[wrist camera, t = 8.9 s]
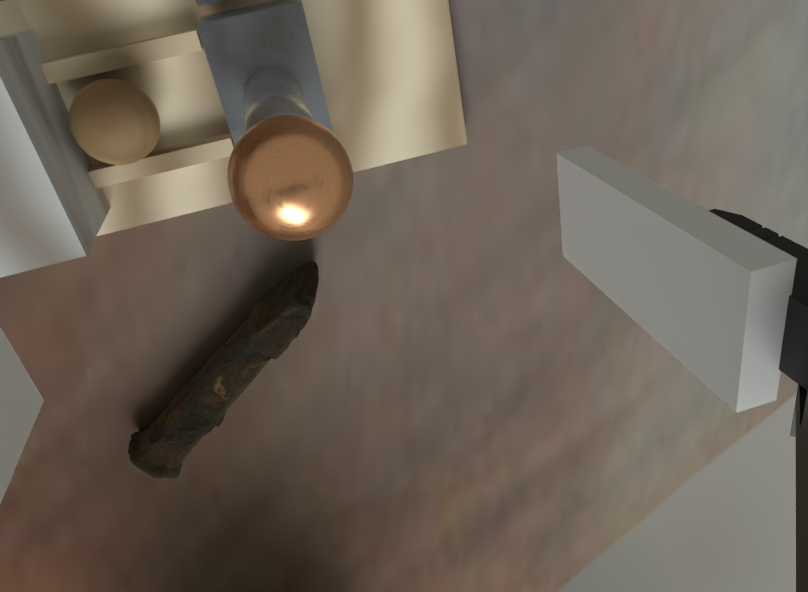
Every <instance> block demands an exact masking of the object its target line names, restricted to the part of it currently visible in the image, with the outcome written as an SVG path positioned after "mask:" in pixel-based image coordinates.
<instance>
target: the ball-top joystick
mask: <svg viewBox="0 0 808 592" xmlns="http://www.w3.org/2000/svg"><path fill="white" fill-rule="evenodd" d="M220 1H225V0H196V4H197V6H201V5H206V4H211V3H215V2H220ZM196 26H197V29H198V32H199V35H200V38H201V41H202V45H203V48H204V51H205V54H206V57H207V60H208V63H209V66H210V70H211V73H212V76H213V79H214V82H215V85H216V88H217V92H218V95H219V98H220V101H221V104H222V107H223V110H224V113H225V117H226V120H227V123H228V126H229V129H230V132H231V135H232V139H233V142H234V145H235V147H234V149H233V151H232V153H231V156H230V159H229V163H228V169H227V181H228V189H229V192H230V196H231V199H232V201H233V204H234V205H235V207H236V209H237V211H238V212H239V214H240V215H241V216H242V217H243V219H244V220H245V221H246V222H247V223H248V224H249V225H250V226H252V227H253V228H254V229H256V230H257V231H259V232H261V233H262V234H264V235H267V236H269V237H272V238H275V239H279V240H285V241H300V240H305V239H309V238H313V237H315V236H318V235H320V234H322V233H323V232H325V231H327V230H328V229H329V228H331V227H332V226H333V225H334V224H335V223H336V222H337V221H338V220H339V219H340V217H341V216H342V215H343V213H344V212H345V210H346V208H347V206H348V204H349V201H350V199H351V195H352V190H353V170H352V165H351V161H350V158H349V155H348V153H347V151H346V149H345V147H344V146H343V144H342V142H341V141H340V140H339V139H338V138H337V136H336V135H335V134H334V133H333V130H332V126H331V122H330V118H329V114H328V109H327V105H326V101H325V97H324V93H323V88H322V84H321V80H320V76H319V71H318V67H317V63H316V59H315V55H314V50H313V46H312V42H311V38H310V34H309V29H308V25H307V21H306V17H305V12H304V8H303V4H302V1H301V0H276V1H271V2H266V3H262V4H257V5H252V6H248V7H243V8H239V9H234V10H229V11H225V12H220V13H216V14H211V15H206V16H202V17H200V19H199V20H198V22H197V24H196Z"/></svg>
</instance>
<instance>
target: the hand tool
mask: <svg viewBox="0 0 808 592" xmlns="http://www.w3.org/2000/svg"><path fill="white" fill-rule="evenodd" d="M318 280H319V277H318V266H317V264H316V262H312V263H309V264H307V265H304V266H303V267H301V268H299V269H298V270H296V271H295V272H294V273H292V274H291V275H289V276H288V277H287V278H285V279H284V280H282V281H281V282H279V283H278V284H277V285H276V286H275V287H274V288H273V289H272V290H271V291H270V292H269V293H267V294H266V295H265V296H263V297H262V298H261V299H260V300H258V301H257V302H256V303H255V305H254V306H253V308H252V310H251V313H250V314H249V316H248V317H247V319H246V320H245V321H244V322H243V323H242V324H241V326H240V327H239V328H238V329H237V330H236V331H235V332H234V333H233V334H232V335H231V336H230V337H229V338H228V339H227V340H226V341H225V343H224V344H223V345H222V346H221V347H220V348H219V349H218V350H217V351H216V352H215V353H214V354H213V355H212V356H211V357H210V358H209V359H208V360H207V362H206V363H205V364H204V366H203V367H202V368H201V369H200V371H199V372H198V373H197V374H196V375H195V376H194V377H193V378H192V379H191V380H190V381H189V382H188V383H187V384H186V385H185V386H184V387H183V388H182V389H181V390H180V391H179V392H178V393H177V394H176V395H175V396H174V397H173V399H172V401H171V402H170V403H169V404H168V406H167V407H166V408H165V409H164V411H163V412H162V413H161V414H160V415H159V416H158V418H157V419H156V420H155V421H154V422H153V423H152V424H151V425H150V426H149V427H148V428H147V430H140V431H138V432H135V433H134V434H132V435H131V438H132V439H131V441H130V443H129V449H128V453H129V458H130V459H131V462H132V463H133V464H134V465H135V466H136V467H138V468H139V469H141V470H142V471H144V472H146V473H148V474H150V475H151V476H152V477H153V478H176V477H177V476H178V475H179V473H180V469H181V466H182V461H183V460H184V458H185V456H186V455H187V454H188V453H189V452H190V451H191V450H192V448H193V447H194V446H195V445H196V444H197V443H198V441H199V440H200V439H201V438H202V437H203V436H204V435H206V434H207V433H208V432H210V431H212V429H213V428H214V427H215V426H220V424H221V423H222V421H223V419H224V415H225V411H226V410H227V409H228V408H229V406H230V405H231V404H232V403H233V402H234V401H235V400H236V398H237V397H238V396H239V395H240V394H241V393H242V392H243V391H244V389H245V388H246V387H247V386H248V385H249V384H250V383H251V381H252V380H253V379H254V378H255V377H256V375H257V374H258V373H259V372H260V371H261V369H262V368H263V367H264V366H265V365H266V363H267V362H268V361H269V360H270V359H271V358H273V359H277V358H278V357H279V356H280V355H281V354H282V353H283V352H284V351H285V350H286V349H287V348H288V346H289V344H290V342H291V341H292V340H293V339H294V338H296V337H297V336H298V334H299V333H300V330H302V329H303V327H304V326H305V325H306V323H307V321H308V320H309V318H310V315H311V312H312V307H313V305H314V303H315V297H316V291H317V286H318Z"/></svg>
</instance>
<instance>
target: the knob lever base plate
mask: <svg viewBox="0 0 808 592" xmlns="http://www.w3.org/2000/svg"><path fill="white" fill-rule="evenodd" d="M271 1H276V0H225V1H220V2H215V3H211V4H206V5H201V6H197V4H196V0H3V1H0V277H4V276H8V275H12V274H16V273H20V272H24V271H28V270H32V269H36V268H40V267H44V266H48V265H52V264H56V263H60V262H64V261H68V260H72V259H76V258H80V257H84V256H87V254H88V252H89V250H90V248H91V246H92V244H93V242H94V240H95V238H96V236H100V235H104V234H108V233H112V232H116V231H120V230H124V229H128V228H132V227H136V226H140V225H144V224H148V223H152V222H156V221H160V220H164V219H168V218H172V217H176V216H180V215H184V214H188V213H192V212H196V211H200V210H204V209H208V208H212V207H216V206H220V205H224V204H228V203H232V202H233V201H232V199H231V196H230V192H229V189H228V181H227V169H228V163H229V159H230V156H231V153H232V151H233V149H234V147H235V145H234V142H233V139H232V135H231V132H230V129H229V126H228V123H227V120H226V117H225V113H224V110H223V107H222V104H221V101H220V98H219V95H218V92H217V88H216V85H215V82H214V79H213V76H212V73H211V70H210V66H209V63H208V60H207V57H206V54H205V51H204V48H203V45H202V41H201V38H200V35H199V32H198V29H197V26H196V24H197V22H198V20H199V19H200V17H202V16H206V15H211V14H216V13H220V12H225V11H229V10H234V9H239V8H243V7H248V6H252V5H257V4H262V3H266V2H271ZM301 1H302V4H303V8H304V12H305V17H306V21H307V25H308V29H309V34H310V38H311V42H312V46H313V50H314V55H315V59H316V63H317V67H318V71H319V76H320V80H321V84H322V88H323V93H324V97H325V101H326V105H327V109H328V114H329V118H330V122H331V126H332V130H333V133H334V134H335V135H336V136H337V138H338V139H339V140H340V141H341V142H342V144H343V146H344V147H345V149H346V151H347V153H348V155H349V158H350V161H351V165H352V170H353V172H357V171H361V170H365V169H369V168H373V167H377V166H381V165H385V164H389V163H393V162H397V161H401V160H405V159H409V158H413V157H417V156H421V155H425V154H429V153H433V152H437V151H441V150H445V149H449V148H453V147H457V146H461V145H465V144H467V139H466V132H465V124H464V116H463V109H462V101H461V94H460V86H459V78H458V71H457V63H456V55H455V48H454V40H453V33H452V25H451V17H450V10H449V2H448V0H301ZM100 79H119V80H123V81H127V82H129V83H131V84H133V85H135V86H137V87H138V88H140V89H141V90H142V91H144V92H145V93H146V94H147V95H148V96H149V97H150V99H151V100H152V101H153V103H154V105H155V107H156V109H157V111H158V114H159V118H160V135H159V138H158V141H157V143H156V145H155V147H154V148H153V150H152V151H151V152H150V153H149V154H148V155H147V156H146V157H144V158H143V159H141V160H139V161H137V162H135V163H131V164H126V165H113V164H108V163H104V162H101V161H99V160H97V159H95V158H93V157H91V156H90V155H89V154H87V153H86V152H85V151H84V150H83V149H82V148H81V147H80V146H79V144H78V143H77V142H76V140H75V138H74V136H73V134H72V132H71V129H70V124H69V110H70V106H71V103H72V101H73V99H74V97H75V96H76V94H77V93H78V92H79V91H80V90H81V89H82V88H83V87H84V86H86V85H87V84H89V83H91V82H94V81H97V80H100Z"/></svg>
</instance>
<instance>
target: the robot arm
mask: <svg viewBox="0 0 808 592" xmlns="http://www.w3.org/2000/svg"><path fill="white" fill-rule="evenodd" d="M557 168H558V184H559V201H560V217H561V234H562V250H563V256H564V257H565V258H566V259H567V260H568V261H569V262H571V263H572V264H573V265H574V266H575V267H576V268H577V269H578V270H579V271H580V272H582V273H583V274H584V275H585V276H586V277H587V278H588V279H589V280H590V281H591V282H593V283H594V284H595V285H596V286H597V287H598V288H599V289H600V290H601V291H602V292H604V293H605V294H606V295H607V296H608V297H609V298H610V299H611V300H612V301H613V302H615V303H616V304H617V305H618V306H619V307H620V308H621V309H622V310H623V311H624V312H626V313H627V314H628V315H629V316H630V317H631V318H632V319H633V320H634V321H635V322H637V323H638V324H639V325H640V326H641V327H642V328H643V329H644V330H645V331H646V332H648V333H649V334H650V335H651V336H652V337H653V338H654V339H655V340H656V341H657V342H659V343H660V344H661V345H662V346H663V347H664V348H665V349H666V350H667V351H669V352H670V353H671V354H672V355H673V356H674V357H675V358H676V359H677V360H678V361H680V362H681V363H682V364H683V365H684V366H685V367H686V368H687V369H688V370H689V371H691V372H692V373H693V374H694V375H695V376H696V377H697V378H698V379H699V380H700V381H702V382H703V383H704V384H705V385H706V386H707V387H708V388H709V389H710V390H711V391H713V392H714V393H715V394H716V395H717V396H718V397H719V398H720V399H721V400H722V401H724V402H725V403H726V404H727V405H728V406H729V407H730V408H731V409H732V410H733V411H735V412H736V413H737V412H741V411H744V410H747V409H750V408H753V407H756V406H759V405H762V404H766V403H769V402H772V401H775V400H776V399H777V392H778V385H779V378H780V371H782V372H783V373H784V374H786V375H787V376H788V377H790V378H791V379H792V380H794V381H795V382H796V383H798V390H797V396H796V403H795V408H794V414H793V421H792V427H791V433H790V435H791V436H795V437H796V592H808V249H807V248H805V247H803V246H801V245H799V244H797V243H795V242H793V241H791V240H789V239H787V238H785V237H783V236H781V237H779V236H778V234H777V233H776V232H774V231H772V230H770V229H768V228H762V225H760V224H758V223H756V222H754V221H752V220H750V219H748V218H746V217H744V216H742V215H739V214H734V213H730V212H726V211H722V210H718V209H713V210H709V211H708V210H706V209H704V208H702V207H700V206H698V205H697V204H695V203H693V202H691V201H689V200H687V199H685V198H684V197H682V196H680V195H678V194H676V193H674V192H672V191H670V190H669V189H667V188H665V187H663V186H661V185H659V184H657V183H656V182H654V181H652V180H650V179H648V178H646V177H644V176H643V175H641V174H639V173H637V172H635V171H633V170H631V169H630V168H628V167H626V166H624V165H622V164H620V163H618V162H617V161H615V160H613V159H611V158H609V157H607V156H605V155H603V154H602V153H600V152H598V151H596V150H594V149H592V148H590V147H589V146H587V145H586V146H582V147H578V148H574V149H570V150H567V151H563V152H559V153H557ZM43 402H44V400H43V398H42V396H41V395H40V393H39V391H38V390H37V388H36V386H35V384H34V383H33V381H32V379H31V378H30V376H29V374H28V373H27V371H26V369H25V368H24V366H23V364H22V363H21V361H20V359H19V358H18V356H17V354H16V352H15V351H14V349H13V347H12V346H11V344H10V342H9V341H8V339H7V337H6V336H5V334H4V332H3V331H2V329H1V327H0V504H1V501H2V499H3V497H4V494H5V492H6V489H7V487H8V485H9V482H10V480H11V478H12V475H13V473H14V470H15V468H16V466H17V463H18V461H19V459H20V456H21V454H22V451H23V449H24V447H25V444H26V442H27V440H28V437H29V435H30V432H31V430H32V428H33V425H34V423H35V421H36V418H37V416H38V413H39V411H40V409H41V406H42V404H43Z"/></svg>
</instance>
